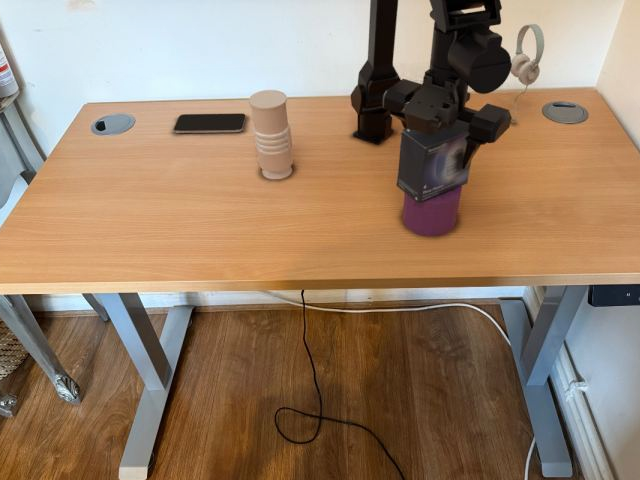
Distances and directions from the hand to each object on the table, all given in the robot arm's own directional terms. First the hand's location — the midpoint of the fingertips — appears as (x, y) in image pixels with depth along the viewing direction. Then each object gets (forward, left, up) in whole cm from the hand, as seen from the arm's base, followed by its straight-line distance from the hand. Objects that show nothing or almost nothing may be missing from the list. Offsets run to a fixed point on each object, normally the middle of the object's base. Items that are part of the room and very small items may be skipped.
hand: (438, 158), depth 85 cm
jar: (0, -1, -12) cm, 12 cm away
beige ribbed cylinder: (-32, -5, -12) cm, 35 cm away
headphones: (-2, +38, -12) cm, 40 cm away
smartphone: (-56, 0, -12) cm, 57 cm away
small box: (0, -1, -5) cm, 5 cm away
